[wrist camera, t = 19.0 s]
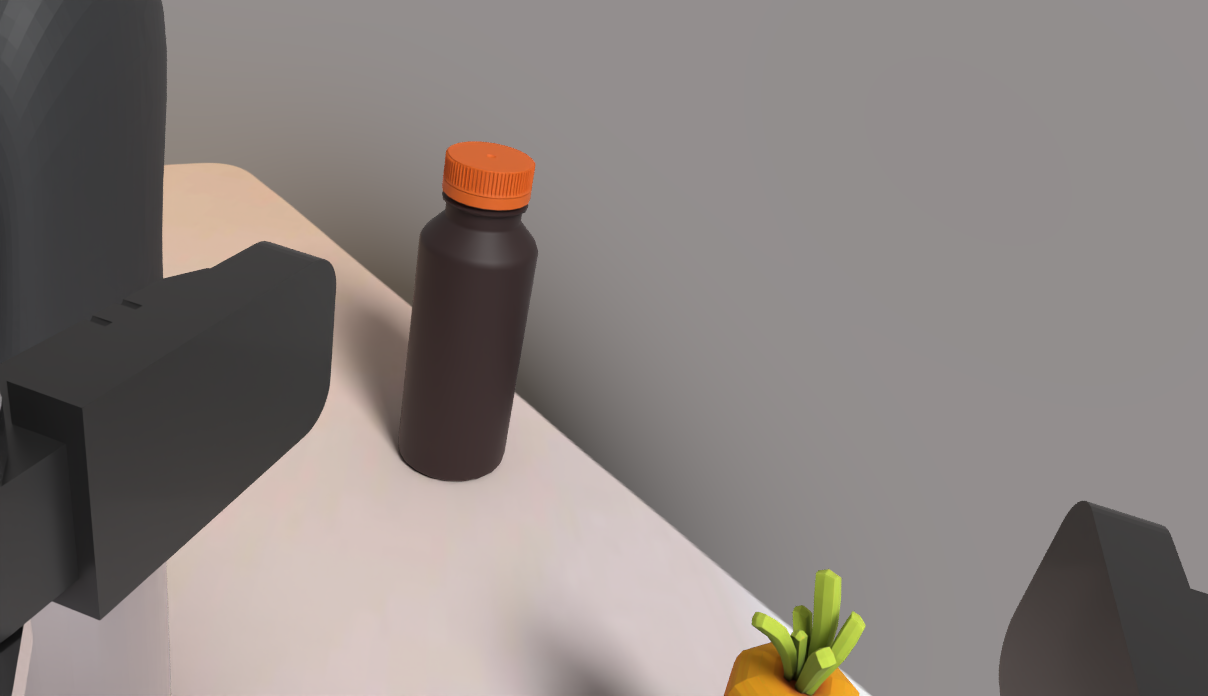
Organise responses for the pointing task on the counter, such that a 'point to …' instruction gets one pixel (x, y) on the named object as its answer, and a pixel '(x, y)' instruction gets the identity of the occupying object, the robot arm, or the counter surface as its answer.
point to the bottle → (469, 315)
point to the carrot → (800, 650)
